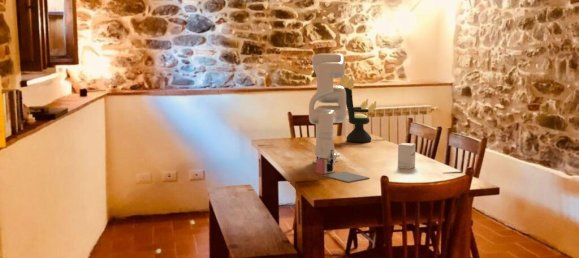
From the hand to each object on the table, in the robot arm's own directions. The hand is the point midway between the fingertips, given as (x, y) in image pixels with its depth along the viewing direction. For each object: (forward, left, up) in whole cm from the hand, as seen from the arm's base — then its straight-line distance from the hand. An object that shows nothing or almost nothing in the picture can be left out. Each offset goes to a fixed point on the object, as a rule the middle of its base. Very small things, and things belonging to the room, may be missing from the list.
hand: (325, 169), depth 316 cm
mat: (0, +16, -1) cm, 16 cm away
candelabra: (-80, -63, -1) cm, 102 cm away
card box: (0, 0, -1) cm, 1 cm away
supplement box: (-42, +17, -1) cm, 45 cm away
